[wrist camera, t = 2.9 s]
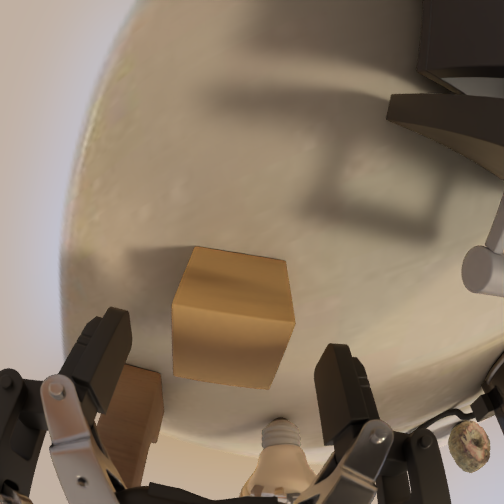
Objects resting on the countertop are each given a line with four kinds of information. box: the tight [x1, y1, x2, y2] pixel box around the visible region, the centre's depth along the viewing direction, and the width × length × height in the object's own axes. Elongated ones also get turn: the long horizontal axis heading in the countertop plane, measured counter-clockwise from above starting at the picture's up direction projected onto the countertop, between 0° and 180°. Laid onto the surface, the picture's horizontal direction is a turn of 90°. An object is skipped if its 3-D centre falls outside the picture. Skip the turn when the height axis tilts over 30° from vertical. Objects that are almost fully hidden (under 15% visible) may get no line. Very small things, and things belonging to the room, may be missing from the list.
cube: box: [171, 246, 296, 390], centre depth 13 cm, size 4×4×4 cm
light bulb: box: [239, 418, 317, 504], centre depth 16 cm, size 7×7×12 cm
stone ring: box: [448, 421, 490, 473], centre depth 23 cm, size 10×4×10 cm, turn 66°
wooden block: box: [97, 364, 164, 489], centre depth 13 cm, size 7×3×15 cm, turn 169°
